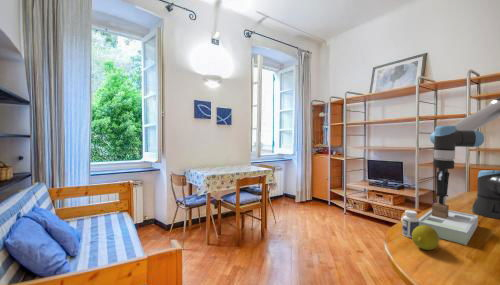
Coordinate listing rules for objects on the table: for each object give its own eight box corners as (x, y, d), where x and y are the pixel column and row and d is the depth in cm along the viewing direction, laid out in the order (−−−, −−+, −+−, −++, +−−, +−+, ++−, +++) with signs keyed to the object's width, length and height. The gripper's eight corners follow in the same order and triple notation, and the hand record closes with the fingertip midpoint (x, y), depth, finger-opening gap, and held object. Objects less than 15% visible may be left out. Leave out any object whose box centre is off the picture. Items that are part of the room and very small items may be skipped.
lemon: (431, 256, 81) (432, 233, 80) (405, 247, 87) (406, 225, 87) (444, 248, 87) (445, 226, 86) (419, 240, 93) (420, 219, 93)
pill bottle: (419, 235, 98) (420, 211, 97) (416, 239, 94) (418, 214, 93) (403, 231, 101) (404, 208, 101) (400, 235, 97) (401, 211, 97)
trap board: (433, 216, 121) (434, 207, 121) (477, 225, 109) (478, 215, 109) (415, 231, 102) (416, 220, 102) (466, 245, 90) (466, 232, 90)
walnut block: (434, 213, 114) (435, 202, 113) (448, 216, 110) (448, 205, 110) (431, 215, 110) (432, 204, 110) (445, 218, 106) (446, 207, 106)
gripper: (437, 157, 118) (434, 205, 119) (430, 159, 110) (427, 211, 111) (457, 159, 113) (454, 209, 114) (451, 161, 104) (448, 215, 105)
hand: (441, 210), depth 112 cm, fingers closed
